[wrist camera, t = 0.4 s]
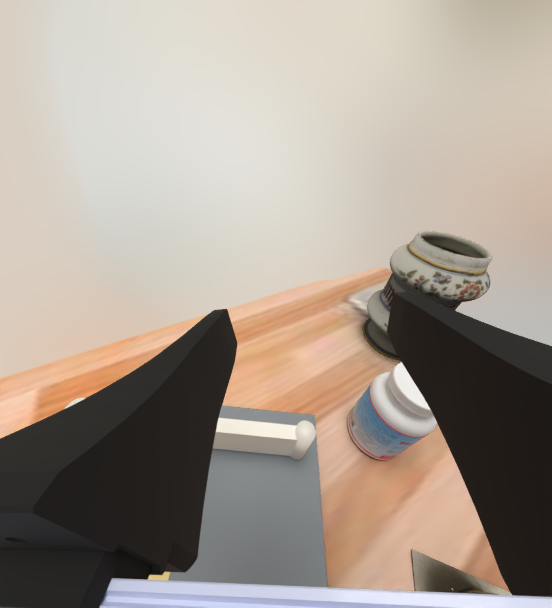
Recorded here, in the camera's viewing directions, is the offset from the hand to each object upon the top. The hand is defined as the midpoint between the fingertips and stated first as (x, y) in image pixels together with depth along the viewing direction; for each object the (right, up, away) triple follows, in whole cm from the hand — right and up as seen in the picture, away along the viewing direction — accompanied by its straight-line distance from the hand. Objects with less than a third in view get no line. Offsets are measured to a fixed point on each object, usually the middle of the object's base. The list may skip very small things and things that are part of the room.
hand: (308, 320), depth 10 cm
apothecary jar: (+19, -5, +29) cm, 35 cm away
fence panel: (-3, -15, +13) cm, 20 cm away
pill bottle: (+10, -15, +17) cm, 24 cm away
